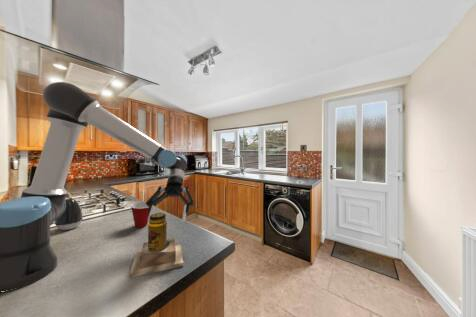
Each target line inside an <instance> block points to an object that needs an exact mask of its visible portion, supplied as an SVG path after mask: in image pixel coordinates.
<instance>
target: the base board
mask: <svg viewBox="0 0 476 317" xmlns="http://www.w3.org/2000/svg"><path fill="white" fill-rule="evenodd" d="M167 240H171V242H170V244H169V247H168V249H167V251H166V252H159V253H144V252H145V251H146V249H147V248H148V241H147V242H143V244H142V248H141V251H136V253H135V256H134V259H133V263H132V265H131V267H130V271H129V278H135V277H139V276H143V275H144V276H145V275H147V274H148V275H149V274H153V273H158V272H163V271H166V270H170V269H171V270H173V269H175V268H179V267H184V259H183V258H184V257H183V252H182V245H181V244H177V245H176V241H175V240H176V238H175V237H174V238H167Z"/></svg>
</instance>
